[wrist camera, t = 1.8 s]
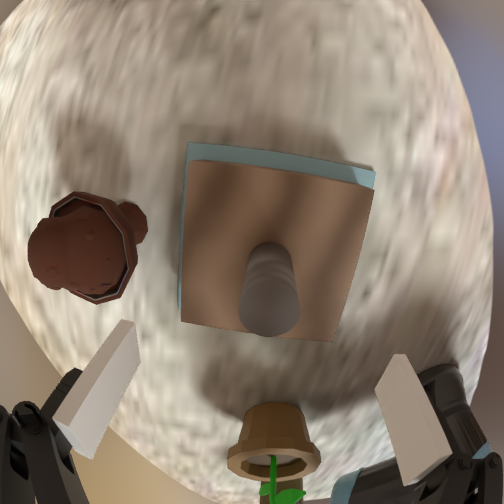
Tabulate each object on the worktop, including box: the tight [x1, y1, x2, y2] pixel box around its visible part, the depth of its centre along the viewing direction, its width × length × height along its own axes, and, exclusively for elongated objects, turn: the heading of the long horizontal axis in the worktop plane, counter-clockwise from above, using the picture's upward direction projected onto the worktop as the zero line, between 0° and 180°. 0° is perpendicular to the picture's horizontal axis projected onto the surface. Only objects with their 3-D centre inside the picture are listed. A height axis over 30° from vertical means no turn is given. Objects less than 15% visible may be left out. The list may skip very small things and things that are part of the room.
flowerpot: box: [227, 402, 321, 504], centre depth 27 cm, size 14×14×30 cm
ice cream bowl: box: [28, 191, 148, 305], centre depth 24 cm, size 11×11×15 cm
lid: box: [181, 159, 374, 342], centre depth 24 cm, size 17×17×13 cm
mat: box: [178, 142, 376, 309], centre depth 30 cm, size 20×20×1 cm
